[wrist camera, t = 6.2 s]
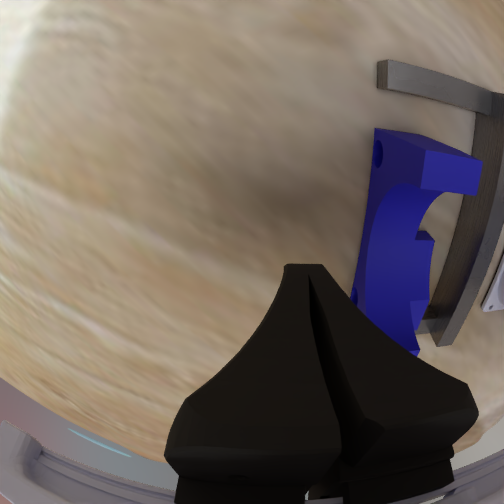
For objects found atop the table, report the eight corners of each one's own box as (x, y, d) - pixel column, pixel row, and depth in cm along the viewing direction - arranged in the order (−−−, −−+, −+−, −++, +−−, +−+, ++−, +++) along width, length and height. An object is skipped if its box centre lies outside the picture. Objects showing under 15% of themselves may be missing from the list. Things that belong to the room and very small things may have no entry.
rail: (493, 96, 11) (523, 102, 9) (437, 318, 20) (451, 344, 18) (377, 61, 12) (400, 56, 9) (343, 324, 21) (350, 355, 18)
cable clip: (403, 302, 20) (431, 363, 14) (347, 304, 20) (366, 371, 15) (440, 138, 14) (505, 167, 8) (373, 127, 14) (425, 149, 9)
